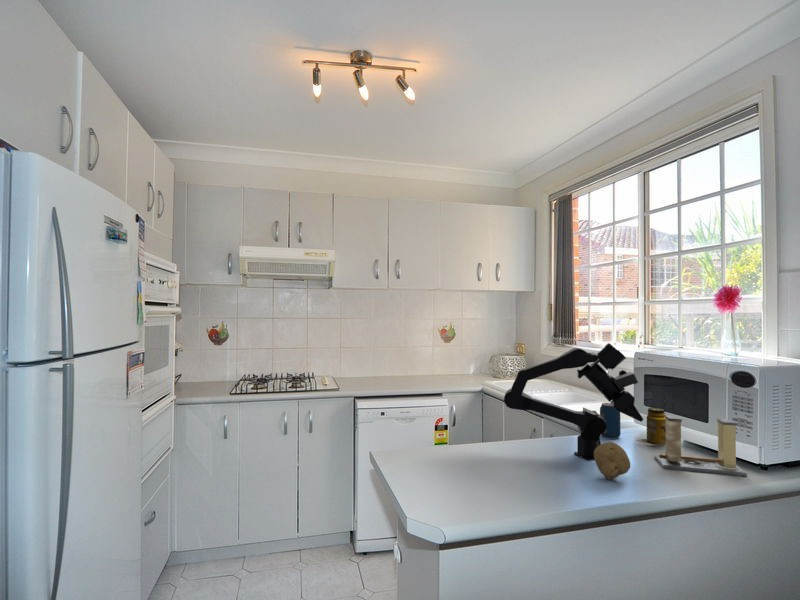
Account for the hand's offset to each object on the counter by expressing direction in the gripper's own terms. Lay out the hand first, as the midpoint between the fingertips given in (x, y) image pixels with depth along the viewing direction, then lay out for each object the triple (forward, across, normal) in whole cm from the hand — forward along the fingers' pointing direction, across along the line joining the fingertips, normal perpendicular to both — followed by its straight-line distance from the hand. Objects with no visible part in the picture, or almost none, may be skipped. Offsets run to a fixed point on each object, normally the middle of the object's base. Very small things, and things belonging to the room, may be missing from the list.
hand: (638, 417), depth 138 cm
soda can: (+7, +27, +12) cm, 31 cm away
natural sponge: (+2, -19, +17) cm, 26 cm away
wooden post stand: (+21, 0, -2) cm, 21 cm away
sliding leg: (+15, 0, +2) cm, 15 cm away
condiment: (+17, +24, +2) cm, 30 cm away
